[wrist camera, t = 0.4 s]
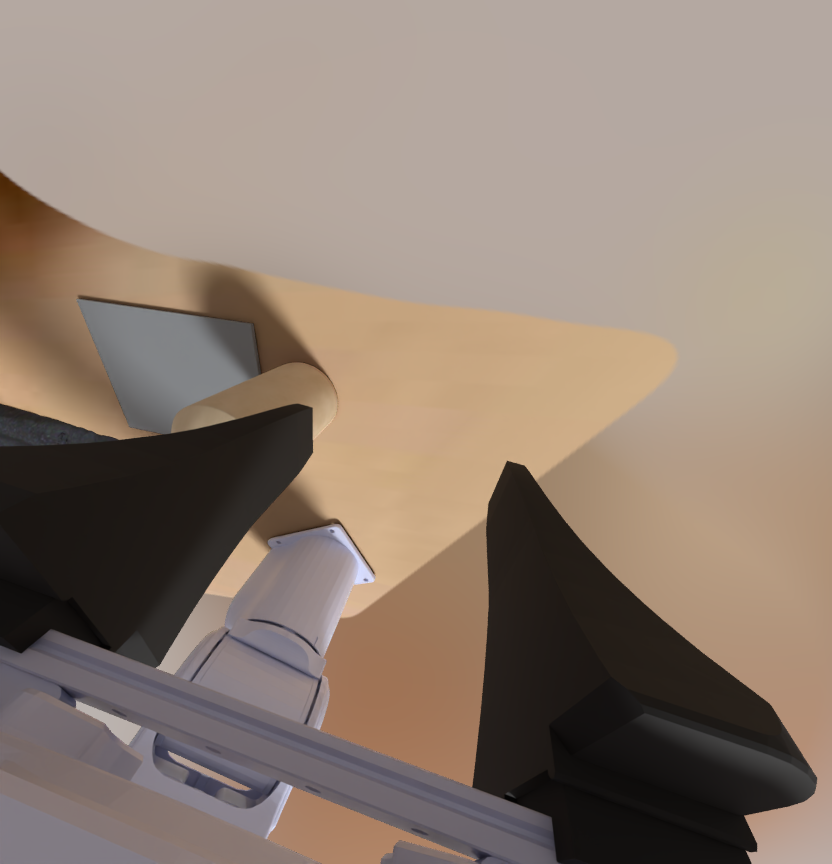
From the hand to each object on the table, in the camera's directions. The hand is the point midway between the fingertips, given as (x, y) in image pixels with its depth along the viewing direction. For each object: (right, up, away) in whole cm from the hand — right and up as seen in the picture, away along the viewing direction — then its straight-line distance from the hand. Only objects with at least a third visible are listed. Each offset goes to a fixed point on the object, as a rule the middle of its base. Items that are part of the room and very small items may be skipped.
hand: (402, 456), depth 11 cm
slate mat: (-19, +5, +14) cm, 24 cm away
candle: (-8, +4, +12) cm, 15 cm away
